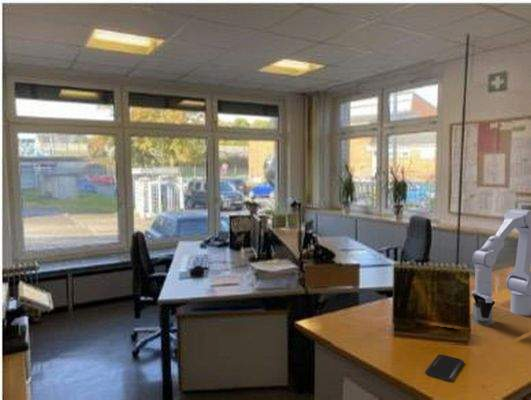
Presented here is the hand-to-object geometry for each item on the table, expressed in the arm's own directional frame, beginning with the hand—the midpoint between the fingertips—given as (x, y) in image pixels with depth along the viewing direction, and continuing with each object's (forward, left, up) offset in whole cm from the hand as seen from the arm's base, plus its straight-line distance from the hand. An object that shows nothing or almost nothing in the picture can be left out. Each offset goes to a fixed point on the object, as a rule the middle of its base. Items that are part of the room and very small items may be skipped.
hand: (482, 314), depth 161 cm
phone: (+44, +12, -4) cm, 45 cm away
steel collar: (0, 0, -1) cm, 1 cm away
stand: (-7, -5, -4) cm, 9 cm away
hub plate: (0, 0, -4) cm, 4 cm away
